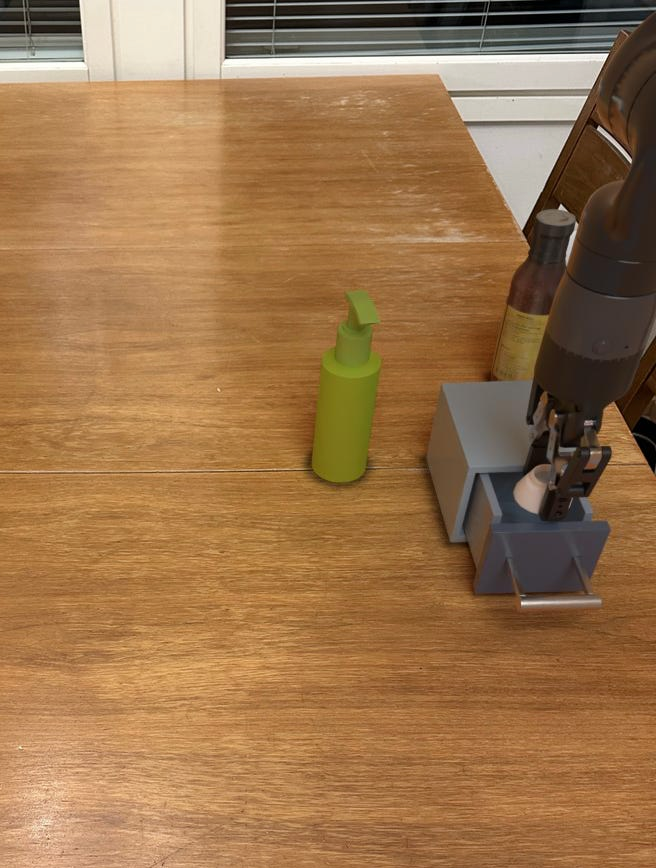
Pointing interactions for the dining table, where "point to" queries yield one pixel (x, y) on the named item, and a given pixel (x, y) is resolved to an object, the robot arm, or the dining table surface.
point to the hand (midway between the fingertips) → (542, 496)
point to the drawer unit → (476, 441)
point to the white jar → (533, 488)
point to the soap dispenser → (347, 395)
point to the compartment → (532, 547)
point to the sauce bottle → (532, 297)
